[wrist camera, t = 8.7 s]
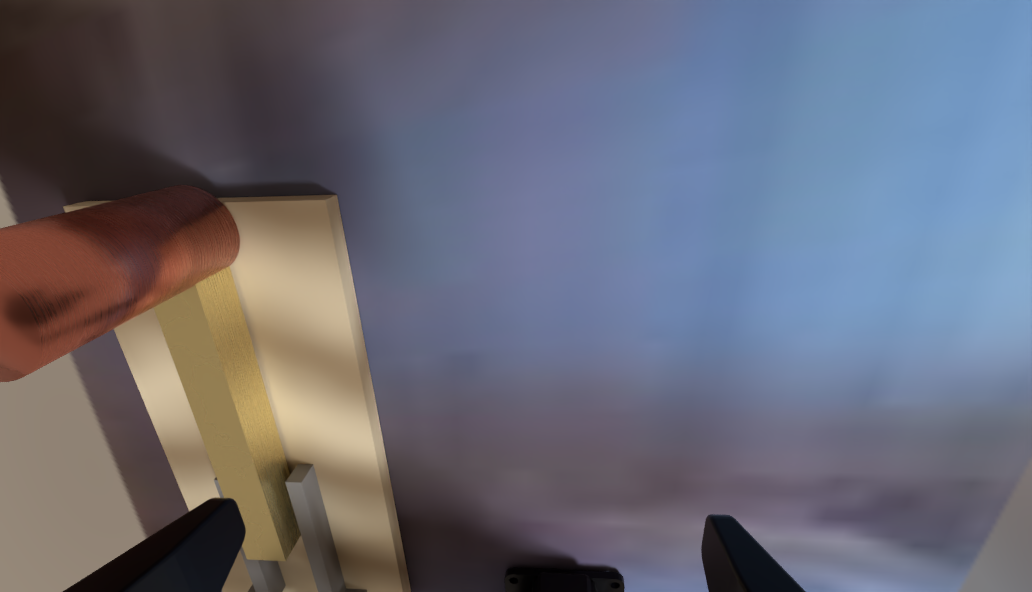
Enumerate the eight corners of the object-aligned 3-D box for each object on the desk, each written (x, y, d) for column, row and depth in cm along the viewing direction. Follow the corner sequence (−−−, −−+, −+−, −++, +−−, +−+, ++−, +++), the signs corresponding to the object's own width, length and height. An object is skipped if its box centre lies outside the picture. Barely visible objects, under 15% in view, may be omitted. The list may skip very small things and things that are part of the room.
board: (418, 630, 30) (378, 784, 23) (251, 620, 31) (166, 766, 24) (336, 194, 19) (220, 249, 12) (85, 201, 20) (-146, 254, 13)
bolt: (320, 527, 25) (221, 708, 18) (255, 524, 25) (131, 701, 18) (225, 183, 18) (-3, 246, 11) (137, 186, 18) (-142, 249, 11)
